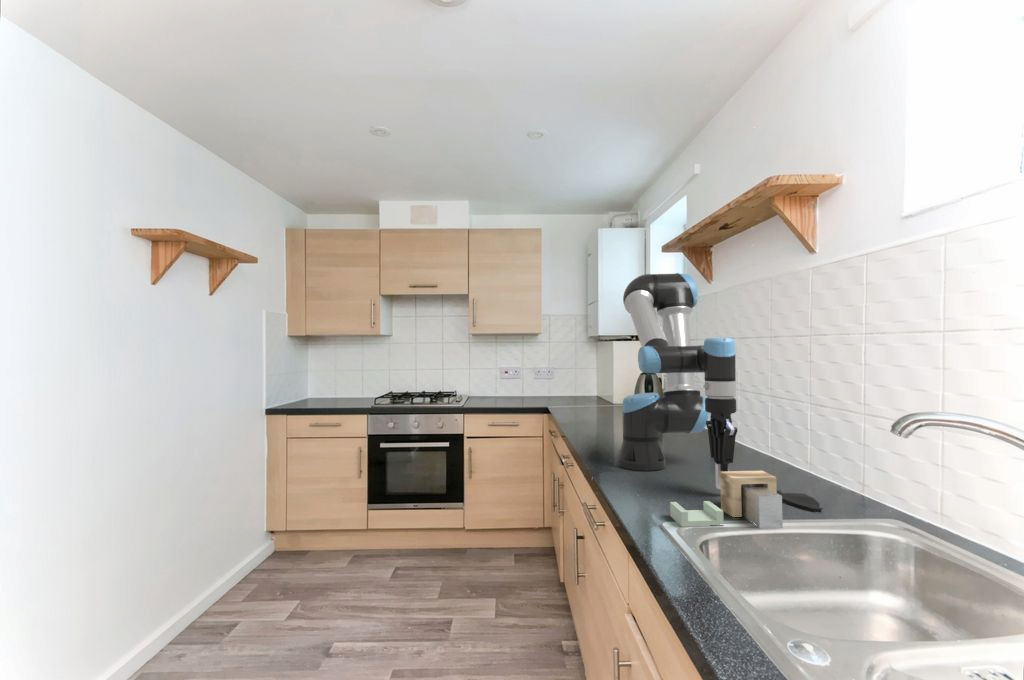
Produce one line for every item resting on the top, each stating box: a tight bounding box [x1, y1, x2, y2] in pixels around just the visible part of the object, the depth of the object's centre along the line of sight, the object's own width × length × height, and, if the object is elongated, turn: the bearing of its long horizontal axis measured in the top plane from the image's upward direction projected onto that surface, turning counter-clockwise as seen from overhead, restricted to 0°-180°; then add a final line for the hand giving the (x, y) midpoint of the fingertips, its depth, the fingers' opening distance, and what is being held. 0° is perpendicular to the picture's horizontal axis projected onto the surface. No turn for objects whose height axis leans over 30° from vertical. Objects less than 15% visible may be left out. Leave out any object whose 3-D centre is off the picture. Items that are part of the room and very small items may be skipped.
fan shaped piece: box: [777, 490, 824, 513], centre depth 122 cm, size 8×14×2 cm, turn 172°
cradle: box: [669, 500, 724, 528], centre depth 111 cm, size 7×9×3 cm
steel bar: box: [741, 484, 784, 529], centre depth 115 cm, size 17×5×7 cm, turn 2°
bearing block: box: [720, 470, 778, 518], centre depth 116 cm, size 6×10×9 cm, turn 92°
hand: (722, 488), depth 129 cm, fingers closed
